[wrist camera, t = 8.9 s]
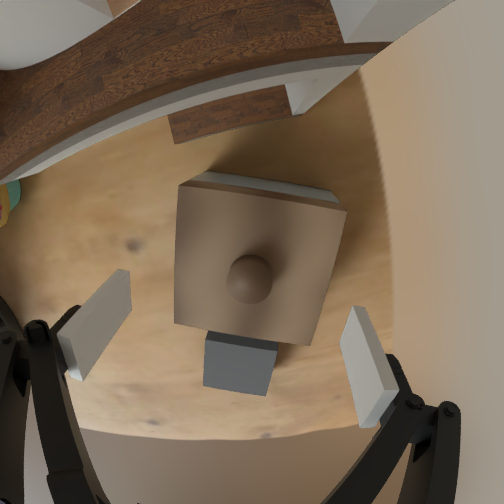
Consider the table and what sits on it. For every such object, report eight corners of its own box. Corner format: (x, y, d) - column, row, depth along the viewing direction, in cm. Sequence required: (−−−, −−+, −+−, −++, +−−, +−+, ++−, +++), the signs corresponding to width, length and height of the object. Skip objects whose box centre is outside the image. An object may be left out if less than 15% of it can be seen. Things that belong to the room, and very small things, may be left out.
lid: (182, 307, 25) (168, 333, 22) (189, 179, 21) (171, 189, 17) (308, 328, 25) (311, 357, 21) (340, 203, 21) (352, 217, 17)
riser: (209, 362, 34) (202, 385, 30) (213, 316, 31) (205, 339, 28) (267, 371, 34) (265, 396, 30) (278, 326, 31) (277, 351, 27)
